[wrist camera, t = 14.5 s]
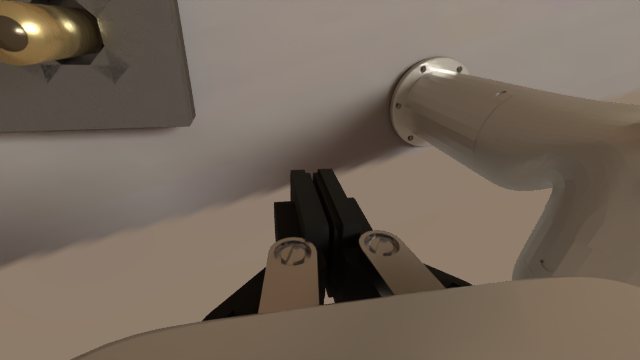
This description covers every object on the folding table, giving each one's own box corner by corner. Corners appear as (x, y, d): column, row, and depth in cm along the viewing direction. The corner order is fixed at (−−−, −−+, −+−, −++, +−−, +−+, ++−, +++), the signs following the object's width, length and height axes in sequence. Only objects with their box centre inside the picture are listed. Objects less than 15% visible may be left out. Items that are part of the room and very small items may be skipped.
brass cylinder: (96, 8, 28) (30, 0, 19) (108, 54, 30) (53, 66, 21) (46, 6, 27) (-47, -4, 18) (62, 53, 29) (-16, 65, 20)
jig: (165, -73, 28) (146, -98, 22) (195, 115, 36) (186, 131, 30) (-75, -98, 24) (-173, -136, 18) (20, 119, 32) (-27, 139, 26)
